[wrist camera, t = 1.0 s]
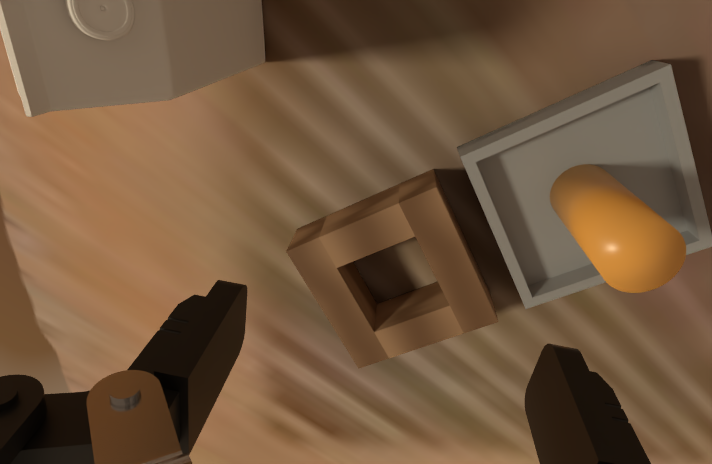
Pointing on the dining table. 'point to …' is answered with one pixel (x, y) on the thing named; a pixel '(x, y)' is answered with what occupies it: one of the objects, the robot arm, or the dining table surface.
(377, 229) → the socket block
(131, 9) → the milk carton
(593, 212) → the plug
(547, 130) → the tray
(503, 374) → the dining table surface
